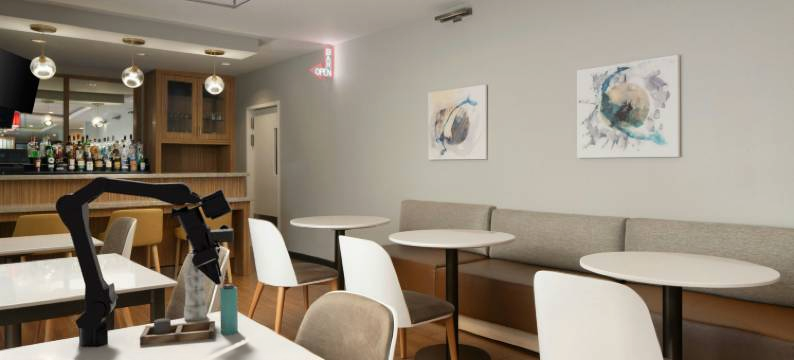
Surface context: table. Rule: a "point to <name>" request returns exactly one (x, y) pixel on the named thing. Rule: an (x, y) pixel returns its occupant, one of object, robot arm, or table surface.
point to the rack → (179, 333)
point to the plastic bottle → (194, 292)
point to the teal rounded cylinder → (228, 309)
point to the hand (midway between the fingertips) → (219, 280)
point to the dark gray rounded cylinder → (162, 326)
